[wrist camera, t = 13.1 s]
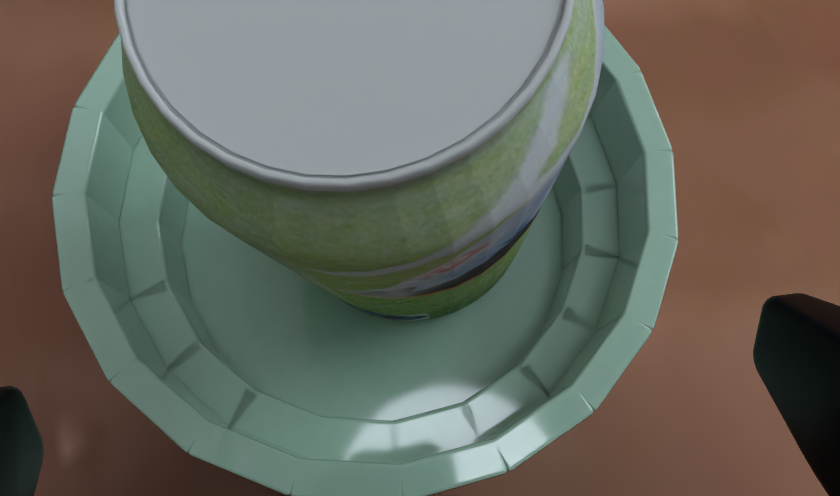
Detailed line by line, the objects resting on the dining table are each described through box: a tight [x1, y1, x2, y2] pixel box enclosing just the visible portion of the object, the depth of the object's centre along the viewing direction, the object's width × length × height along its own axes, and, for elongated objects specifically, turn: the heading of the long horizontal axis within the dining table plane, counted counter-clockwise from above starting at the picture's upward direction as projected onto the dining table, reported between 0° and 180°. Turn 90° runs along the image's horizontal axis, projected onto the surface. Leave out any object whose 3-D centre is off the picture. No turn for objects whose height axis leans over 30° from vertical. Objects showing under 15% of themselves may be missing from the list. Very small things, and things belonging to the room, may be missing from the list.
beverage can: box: [114, 0, 604, 321], centre depth 13 cm, size 6×7×12 cm
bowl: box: [52, 25, 678, 496], centre depth 17 cm, size 13×13×4 cm
